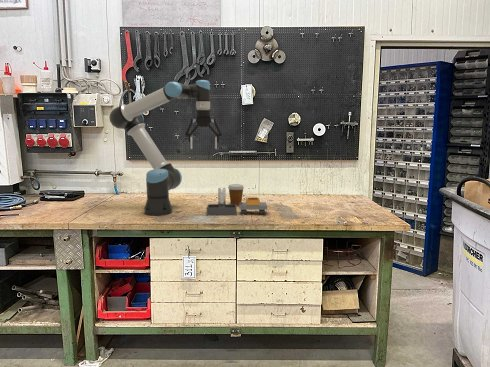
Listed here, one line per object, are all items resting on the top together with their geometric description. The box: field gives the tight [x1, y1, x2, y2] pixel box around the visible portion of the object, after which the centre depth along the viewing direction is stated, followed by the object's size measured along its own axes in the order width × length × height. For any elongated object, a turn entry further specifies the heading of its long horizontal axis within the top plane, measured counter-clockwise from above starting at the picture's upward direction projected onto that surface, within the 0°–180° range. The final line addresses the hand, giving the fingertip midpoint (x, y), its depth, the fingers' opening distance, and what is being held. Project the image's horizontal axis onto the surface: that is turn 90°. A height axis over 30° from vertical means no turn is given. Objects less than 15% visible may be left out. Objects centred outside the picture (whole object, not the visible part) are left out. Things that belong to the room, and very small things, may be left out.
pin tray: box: [206, 203, 238, 216], centre depth 206 cm, size 16×9×4 cm, turn 92°
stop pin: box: [217, 187, 227, 208], centre depth 205 cm, size 4×4×13 cm
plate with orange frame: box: [238, 197, 268, 216], centre depth 206 cm, size 15×9×8 cm, turn 92°
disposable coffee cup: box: [227, 183, 245, 207], centre depth 226 cm, size 10×10×12 cm
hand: (203, 148), depth 209 cm, fingers open, 13 cm apart
